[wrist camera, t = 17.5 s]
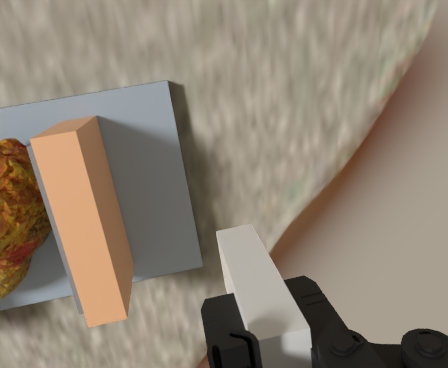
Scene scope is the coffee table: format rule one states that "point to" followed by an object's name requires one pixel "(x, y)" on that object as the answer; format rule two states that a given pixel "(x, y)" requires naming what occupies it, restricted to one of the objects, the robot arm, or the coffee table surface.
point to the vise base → (119, 183)
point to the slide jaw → (85, 217)
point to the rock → (19, 215)
